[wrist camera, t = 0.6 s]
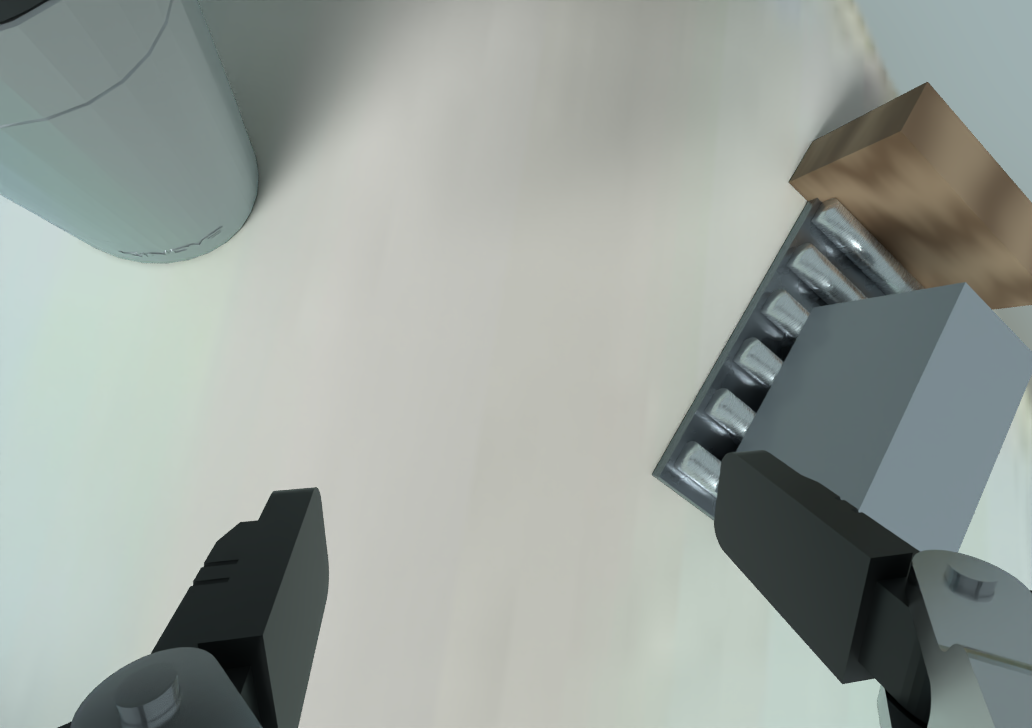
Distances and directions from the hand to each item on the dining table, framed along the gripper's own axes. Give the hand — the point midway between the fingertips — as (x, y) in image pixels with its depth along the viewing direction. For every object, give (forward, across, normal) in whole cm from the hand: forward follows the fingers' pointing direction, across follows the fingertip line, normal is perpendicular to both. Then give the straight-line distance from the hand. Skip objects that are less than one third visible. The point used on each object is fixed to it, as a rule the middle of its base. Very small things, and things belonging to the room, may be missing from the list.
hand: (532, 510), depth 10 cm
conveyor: (+22, -24, +6) cm, 33 cm away
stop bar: (+27, -32, -4) cm, 42 cm away
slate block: (+19, -22, +8) cm, 30 cm away
